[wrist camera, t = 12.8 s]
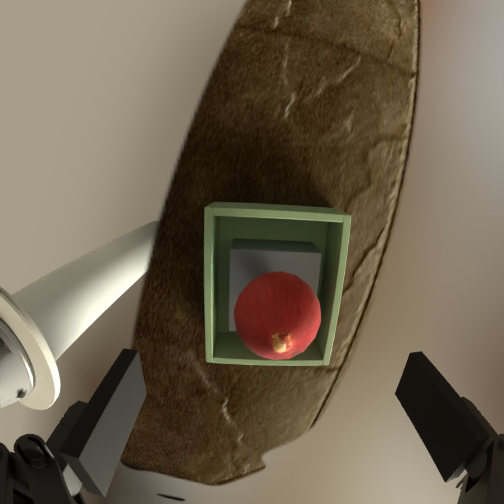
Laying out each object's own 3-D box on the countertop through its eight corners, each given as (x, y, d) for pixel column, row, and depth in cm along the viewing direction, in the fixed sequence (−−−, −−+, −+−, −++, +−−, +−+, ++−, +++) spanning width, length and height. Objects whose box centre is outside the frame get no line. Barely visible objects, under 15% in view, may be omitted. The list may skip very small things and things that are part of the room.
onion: (321, 306, 23) (349, 363, 15) (259, 337, 24) (261, 402, 16) (289, 245, 22) (308, 282, 14) (223, 280, 23) (208, 332, 15)
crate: (213, 334, 29) (206, 362, 24) (213, 201, 26) (204, 207, 21) (318, 337, 29) (328, 365, 24) (334, 208, 26) (351, 215, 21)
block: (231, 310, 28) (228, 330, 24) (233, 238, 26) (229, 248, 22) (304, 312, 28) (311, 333, 24) (312, 241, 26) (321, 252, 22)
